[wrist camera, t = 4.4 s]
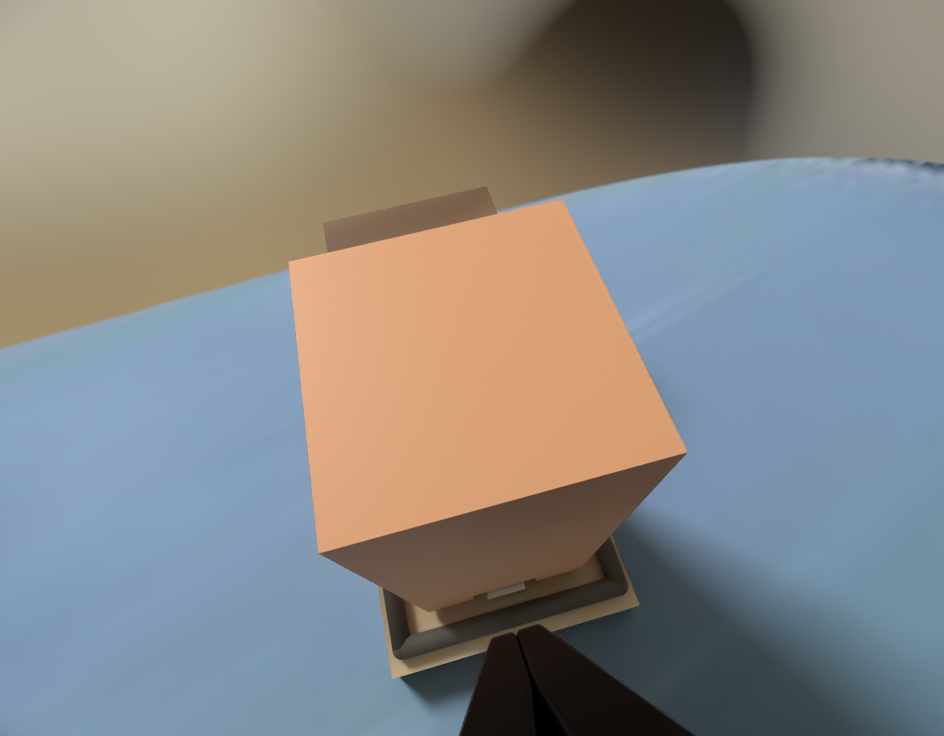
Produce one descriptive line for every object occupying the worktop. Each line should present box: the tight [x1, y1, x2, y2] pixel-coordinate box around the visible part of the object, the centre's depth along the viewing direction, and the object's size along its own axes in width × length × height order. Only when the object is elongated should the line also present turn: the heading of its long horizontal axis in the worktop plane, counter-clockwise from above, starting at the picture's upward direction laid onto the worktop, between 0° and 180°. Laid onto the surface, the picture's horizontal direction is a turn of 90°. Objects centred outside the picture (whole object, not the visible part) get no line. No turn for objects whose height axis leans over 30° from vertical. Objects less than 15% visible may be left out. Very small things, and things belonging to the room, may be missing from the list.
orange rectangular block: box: [289, 199, 687, 612], centre depth 13 cm, size 5×5×11 cm
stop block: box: [323, 187, 497, 253], centre depth 20 cm, size 2×6×5 cm, turn 105°
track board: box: [378, 534, 640, 679], centre depth 20 cm, size 16×8×2 cm, turn 15°
